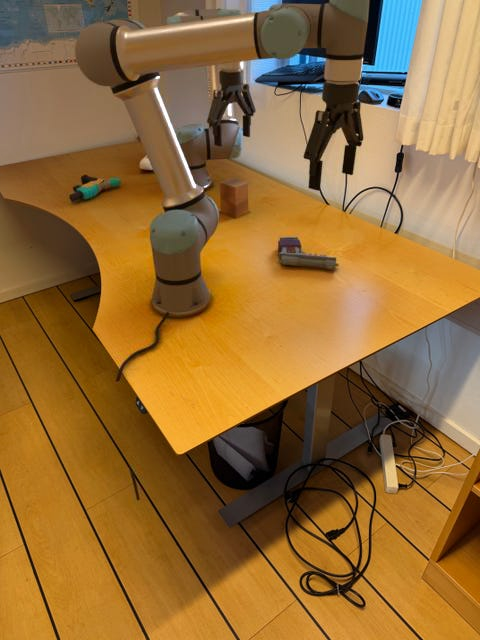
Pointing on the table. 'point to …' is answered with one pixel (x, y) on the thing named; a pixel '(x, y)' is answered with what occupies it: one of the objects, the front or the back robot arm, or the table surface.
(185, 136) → the back robot arm
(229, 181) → the block
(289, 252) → the toy gun
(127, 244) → the table surface
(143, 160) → the sneaker
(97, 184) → the toy gun
